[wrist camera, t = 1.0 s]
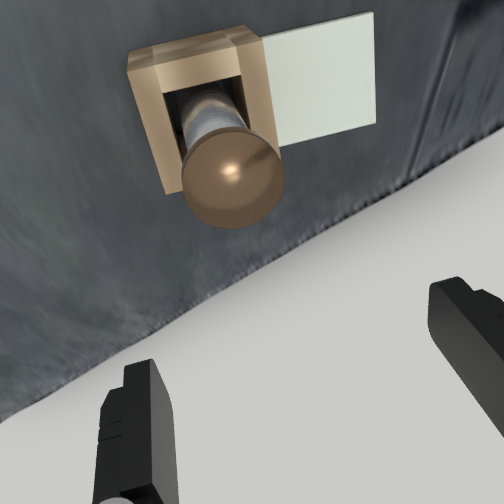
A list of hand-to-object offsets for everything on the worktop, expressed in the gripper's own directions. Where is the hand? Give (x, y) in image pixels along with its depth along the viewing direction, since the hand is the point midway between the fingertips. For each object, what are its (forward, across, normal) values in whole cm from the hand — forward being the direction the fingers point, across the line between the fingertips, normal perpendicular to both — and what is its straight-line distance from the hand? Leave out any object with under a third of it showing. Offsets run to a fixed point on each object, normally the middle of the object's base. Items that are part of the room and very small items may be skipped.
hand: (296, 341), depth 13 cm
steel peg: (+26, 0, 0) cm, 26 cm away
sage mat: (+26, -9, +1) cm, 27 cm away
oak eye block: (+26, 0, 0) cm, 26 cm away
